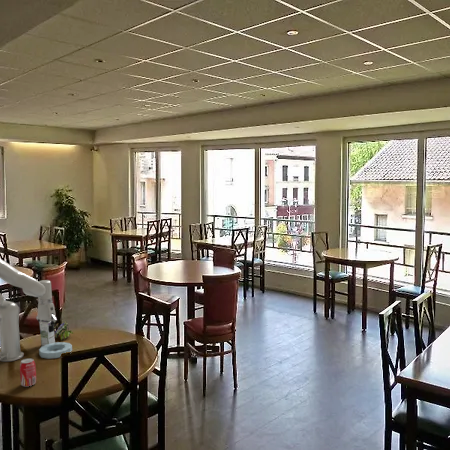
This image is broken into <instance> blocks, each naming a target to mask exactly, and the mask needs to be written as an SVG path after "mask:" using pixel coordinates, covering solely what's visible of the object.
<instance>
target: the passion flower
mask: <svg viewBox="0 0 450 450" xmlns="http://www.w3.org/2000/svg"><path fill="white" fill-rule="evenodd" d="M56 328H57V329H56ZM55 329H56V330H55ZM54 330H55V331H54V338H55V339H56V338H59V336H60V340H61V341H63V340H66V339H67V338H69V337H71V334H72V335H73V334H74V332H73V329H71V330H69V323H68V322H67V321H65V322H63V323H61V324H60V325H59V323H56V324H55V325H54Z"/></svg>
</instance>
